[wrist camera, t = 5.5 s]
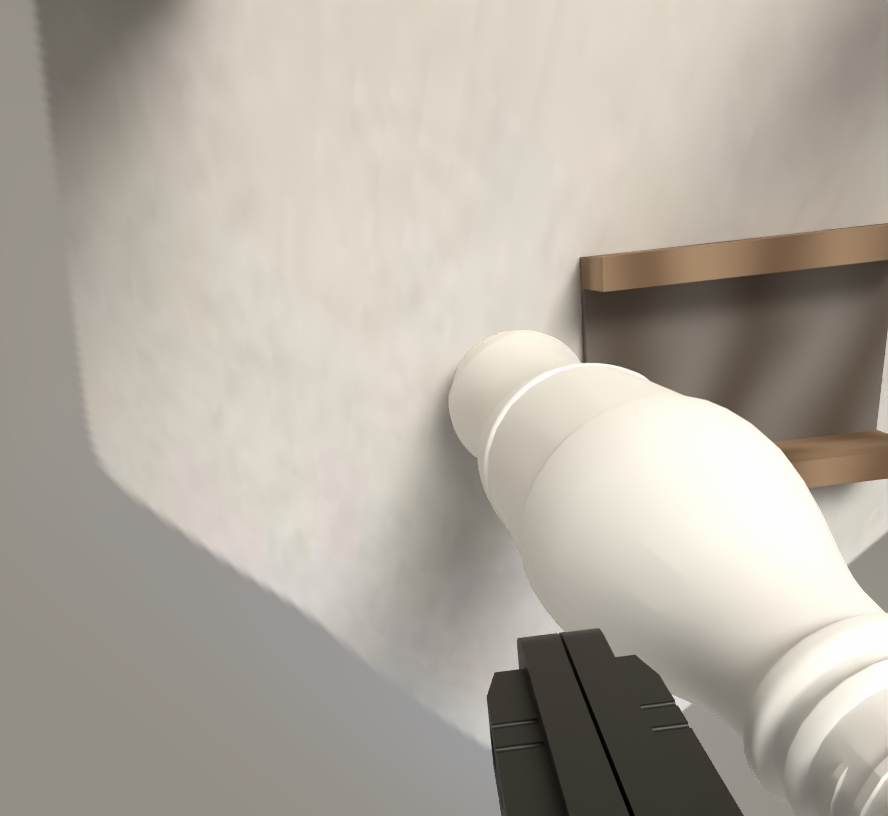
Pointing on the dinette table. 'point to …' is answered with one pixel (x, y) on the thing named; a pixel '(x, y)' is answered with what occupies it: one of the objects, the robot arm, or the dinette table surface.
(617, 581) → the water bottle
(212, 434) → the dinette table surface
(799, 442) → the walnut cradle
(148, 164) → the dinette table surface
